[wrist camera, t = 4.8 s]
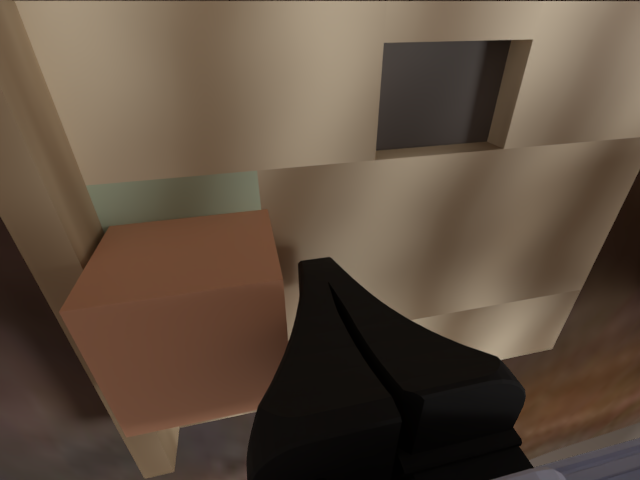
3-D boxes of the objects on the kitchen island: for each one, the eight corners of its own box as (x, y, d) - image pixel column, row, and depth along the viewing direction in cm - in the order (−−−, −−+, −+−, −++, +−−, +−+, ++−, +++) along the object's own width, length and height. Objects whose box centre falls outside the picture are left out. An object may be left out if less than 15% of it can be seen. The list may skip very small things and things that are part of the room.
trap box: (683, 2, 13) (803, -3, 10) (537, 334, 22) (580, 377, 19) (-16, 3, 9) (-123, -7, 6) (157, 410, 18) (144, 478, 15)
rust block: (267, 209, 12) (283, 279, 9) (278, 316, 15) (293, 402, 11) (109, 226, 11) (58, 312, 8) (150, 337, 14) (126, 437, 10)
